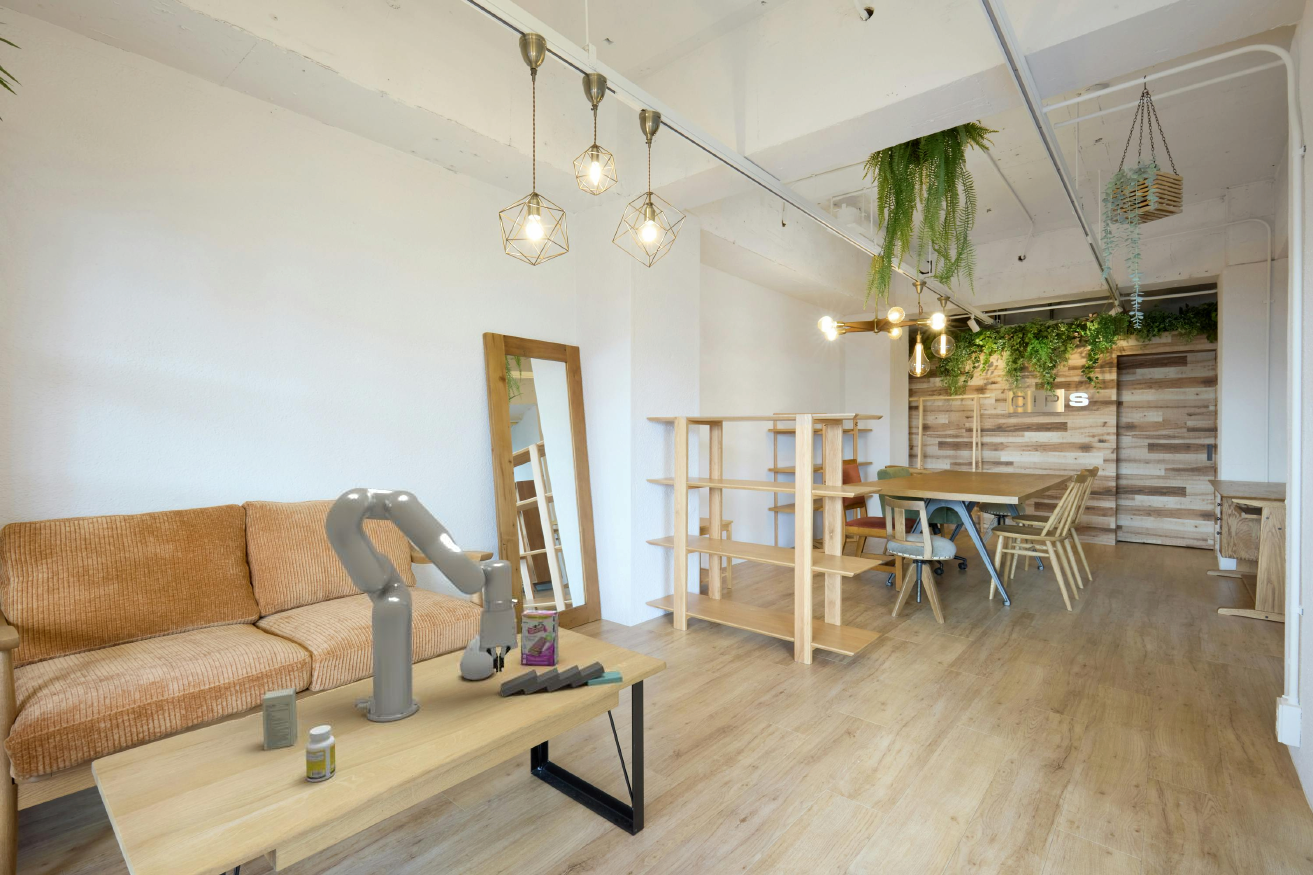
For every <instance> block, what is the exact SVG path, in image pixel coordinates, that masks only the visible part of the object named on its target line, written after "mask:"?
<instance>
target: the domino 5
mask: <svg viewBox="0 0 1313 875" xmlns="http://www.w3.org/2000/svg"><path fill="white" fill-rule="evenodd" d="M616 683H623V676H622V674H621V672H620V671H619V670H615V671H605V673H603V674H601V675H599V676H597V677H595V678H593V679H591V680H589V681H587V682H586V684H587V686H588V687H592V686H599V685H601V686H602V685H609V684H616Z"/></svg>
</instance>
